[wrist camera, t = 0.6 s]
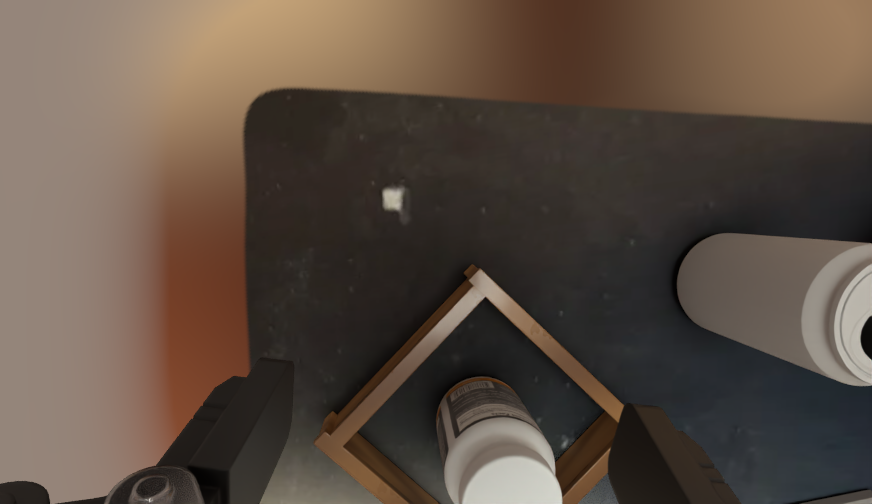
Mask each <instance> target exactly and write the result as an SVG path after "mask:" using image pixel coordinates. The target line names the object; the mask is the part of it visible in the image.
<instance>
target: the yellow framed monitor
mask: <svg viewBox="0 0 872 504" xmlns="http://www.w3.org/2000/svg"><path fill="white" fill-rule="evenodd" d="M801 504H872V491H871V490H865V491H860V492H855V493H850V494H845V495H840V496H835V497H830V498H825V499H820V500H815V501H810V502H806V503H801Z"/></svg>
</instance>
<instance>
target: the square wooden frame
mask: <svg viewBox="0 0 872 504" xmlns="http://www.w3.org/2000/svg"><path fill="white" fill-rule="evenodd" d="M464 274H465V275H466V276H467V277H468V278H467V279H466V280H465V281H464V282H463V283H462V284H461V285H460V286H459V287H458V288H457V290H456V291H455V292H454V293H453V294H452V295H451V296H450V297H449V298H448V299H447V300H446V301H445V302H444V303H443V304H442V305H441V306H440V307H439V308H438V309H437V311H436V312H435V313H434V314H433V315H432V316H431V317H430V318H429V319H428V320H427V321H426V322H425V323H424V324H423V325H422V326H421V327H420V328H419V329H418V330H417V331H416V333H415V334H414V335H413V336H412V337H411V338H410V339H409V340H408V341H407V342H406V343H405V344H404V345H403V346H402V347H401V348H400V349H399V350H398V351H397V352H396V354H395V355H394V356H393V357H392V358H391V359H390V360H389V361H388V362H387V363H386V364H385V365H384V366H383V367H382V368H381V369H380V370H379V371H378V372H377V373H376V375H375V376H374V377H373V378H372V379H371V380H370V381H369V382H368V383H367V384H366V385H365V386H364V387H363V388H362V389H361V390H360V391H359V392H358V393H357V394H356V395H355V397H354V398H353V399H352V400H351V401H350V402H349V403H348V404H347V405H346V406H345V407H344V408H343V409H342V410H341V411H340V412H339V413H338V415H337V414H336V413H334V412H333V411H332V412H331V413H330V414H329V415H328V416H327V417H326V418H325V420H324V422H323V425H322V428H321V431H320V434H319V435H318V436H317V437H316V439H315V440H314V445H316V446H317V447H318V448H319V449H320V450H321V451H323V452H324V453H325V454H326V455H327V456H329V457H330V458H331V459H332V460H333V461H334V462H336V463H337V464H338V465H339V466H340V467H341V468H343V469H344V470H345V471H346V472H347V473H348V474H350V475H351V476H352V477H353V478H354V479H355V480H357V481H358V482H359V483H360V484H361V485H363V486H364V487H365V488H366V489H367V490H368V491H370V492H371V493H372V494H373V495H374V496H375V497H377V498H378V499H379V500H380V501H381V502H382V503H384V504H439V503H438V502H437V501H436V500H435V499H434V498H432V497H431V496H430V495H429V494H428V493H427V492H426V491H424V490H423V489H422V488H421V487H420V486H419V485H417V484H416V483H415V482H414V481H413V480H412V479H411V478H409V477H408V476H407V475H406V474H405V473H404V472H402V471H401V470H400V469H399V468H398V467H397V466H396V465H394V464H393V463H392V462H391V461H390V460H389V459H387V458H386V457H385V456H384V455H383V454H382V453H381V452H379V451H378V450H377V449H376V448H375V447H374V446H372V445H371V444H370V443H369V442H368V441H367V440H366V439H364V438H363V437H362V436H361V435H360V434H359V433H358V432H357V431H358V430H359V429H360V428H361V427H362V426H363V425H364V424H365V423H366V422H367V421H368V420H369V419H370V418H371V417H372V415H373V414H374V413H375V412H376V411H377V410H378V409H379V408H380V407H381V406H382V405H383V404H384V403H385V402H386V401H387V400H388V399H389V398H390V397H391V396H392V395H393V393H394V392H395V391H396V390H397V389H398V388H399V387H400V386H401V385H402V384H403V383H404V382H405V381H406V380H407V379H408V378H409V377H410V376H411V375H412V374H413V373H414V372H415V370H416V369H417V368H418V367H419V366H420V365H421V364H422V363H423V362H424V361H425V360H426V359H427V358H428V357H429V356H430V355H431V354H432V353H433V352H434V351H435V350H436V348H437V347H438V346H439V345H440V344H441V343H442V342H443V341H444V340H445V339H446V338H447V337H448V336H449V335H450V334H451V333H452V332H453V331H454V330H455V329H456V328H457V326H458V325H459V324H460V323H461V322H462V321H463V320H464V319H465V318H466V317H467V316H468V315H469V314H470V313H471V312H472V311H473V310H474V309H475V308H476V307H477V306H478V305H479V303H480V302H481V301H482V300H483V299H484V298H485V297H486V298H487V299H488V300H489V301H490V302H491V303H492V304H493V305H494V306H495V307H496V308H497V309H498V310H499V311H500V312H501V313H503V314H504V315H505V316H506V317H507V318H508V319H509V320H510V321H511V322H512V323H513V324H514V325H515V326H516V327H517V328H518V329H519V330H520V331H522V332H523V333H524V334H525V335H526V336H527V337H528V338H529V339H530V340H531V341H532V342H533V343H534V344H535V345H536V346H537V347H538V348H539V349H541V350H542V351H543V352H544V353H545V354H546V355H547V356H548V357H549V358H550V359H551V360H552V361H553V362H554V363H555V364H556V365H557V366H558V367H560V368H561V369H562V370H563V371H564V372H565V373H566V374H567V375H568V376H569V377H570V378H571V379H572V380H573V381H574V382H575V383H576V384H578V385H579V386H580V387H581V388H582V389H583V390H584V391H585V392H586V393H587V394H588V395H589V396H590V397H591V398H592V399H593V400H594V401H595V402H597V403H598V404H599V405H600V406H601V407H602V408H603V409H604V410H605V412H604V413H603V414H602V415H601V416H600V417H599V418H598V419H597V420H596V421H595V422H594V423H593V424H592V425H591V426H590V427H589V428H588V429H587V430H586V431H585V432H584V433H583V434H582V435H581V436H580V437H579V438H578V439H577V440H576V442H575V443H574V444H573V445H572V446H571V447H570V448H569V449H568V450H567V451H566V452H565V453H564V454H563V455H562V456H561V457H560V458H559V459H558V460H557V461H556V462H555V476H556V478H557V480H558V482H559V485H560V488H561V493H562V504H577V503H578V502H579V501H580V500H581V499H582V498H583V497H584V496H585V495H586V494H587V493H588V492H589V491H590V490H591V489H592V488H593V487H594V486H595V485H596V484H597V483H598V482H599V481H600V480H601V479H602V478H603V477H604V476H605V475H606V474H607V473H608V457H609V453H610V449H611V446H612V442H613V439H614V436H615V432H616V429H617V426H618V422H619V419H620V415H621V412H622V409H623V407H624V405H623V404H622V403H621V402H620V401H619V400H618V399H617V398H616V397H615V396H614V395H613V394H612V393H611V392H610V391H609V390H607V389H606V388H605V387H604V386H603V385H602V384H601V383H600V382H599V381H598V380H597V379H596V378H595V377H594V376H593V375H592V374H591V373H590V372H589V371H588V370H587V369H585V368H584V367H583V366H582V365H581V364H580V363H579V362H578V361H577V360H576V359H575V358H574V357H573V356H572V355H571V354H570V353H569V352H568V351H567V350H566V349H565V348H563V347H562V346H561V345H560V344H559V343H558V342H557V341H556V340H555V339H554V338H553V337H552V336H551V335H550V334H549V333H548V332H547V331H546V330H545V329H544V328H543V327H541V326H540V325H539V324H538V323H537V322H536V321H535V320H534V319H533V318H532V317H531V316H530V315H529V314H528V313H527V312H526V311H525V310H524V309H523V308H522V307H521V306H519V305H518V304H517V303H516V302H515V301H514V300H513V299H512V298H511V297H510V296H509V295H508V294H507V293H506V292H505V291H504V290H503V289H502V288H501V287H500V286H499V285H497V284H496V283H495V282H494V281H493V280H492V279H491V278H490V277H489V276H488V275H487V274H486V273H485V272H484V271H483V270H482V269H481V268H476V267H475V266H474V265H473V264H472V265H471V266H470V267H469V268H468V269H467V270H466V271H465V272H464Z"/></svg>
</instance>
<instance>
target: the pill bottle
mask: <svg viewBox="0 0 872 504" xmlns="http://www.w3.org/2000/svg"><path fill="white" fill-rule="evenodd" d="M436 427H437V436H438V441H439V448H440V455H441V461H442V467H443V474H444V479H445V485H446V489H447V492H448V494H449V496H450V498H451V499H452V501H453V503H454V504H562V493H561V488H560V485H559V482H558V480H557V478H556V476H555V461H554V455H553V452H552V449H551V447H550V444H549V443H548V441H547V439H546V438H545V436H544V435H543V433H542V432H541V430H540V429H539V427H538V426H537V424H536V423H535V421H534V420H533V418H532V416H531V415H530V413H529V411H528V410H527V408H526V407H525V405H524V404H523V402H522V401H521V399H520V398H519V397H518V395H517V394H516V393H515V392H514V390H513V389H512V388H511V387H509V386H508V385H507V384H505V383H504V382H502V381H500V380H497V379H495V378H491V377H482V376H480V377H473V378H469V379H466V380H463V381H461V382H459V383H457V384H456V385H455V386H453V387H452V388H451V389H450V390H449V391H448V392H447V393H446V394H445V396H444V397H443V399H442V400H441V402H440V405H439V408H438V411H437V418H436Z"/></svg>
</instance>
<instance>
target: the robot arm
mask: <svg viewBox="0 0 872 504" xmlns="http://www.w3.org/2000/svg"><path fill="white" fill-rule="evenodd" d="M293 383H294V364H293V362H292V361H286V360H278V359H269V358H260V359H259V360H258V361H257V363H256V364H255V366H254V367H253V369H252V370H251V372H250V373H249V375H248V376H247V378H246V377H238V376H233V377H231V378H230V379H228V380H227V381H225V382H223V383H222V384H220V385H219V386H217V387H215V388H214V390H213V391H212V393H211V394H210V395H209V396H208V398H207V399H206V400H205V402H204V403H203V406H201V407H200V408H199V410H198V411H197V412H196V413H195V415H194V418H193V419H191V420H190V421H189V423H188V424H187V425H186V427H185V428H184V429H183V430H182V432H181V433H180V435H179V436H178V437H177V438H176V440H175V441H174V442H173V444H172V445H171V446H170V448H169V449H168V450H167V452H166V453H165V454H164V456H163V457H162V458H161V459H160V461H159V462H158V464H157V465H156V466H152V467H148V468H145V469H142V470H139V471H137V472H135V473H133V474H131V475H129V476H127V477H126V478H124V479H123V480H122V481H120V482H119V483H118V484H117V485H116V486H115V487H114V488H113V489H112V490H111V491H110V493H109V494H108V496H104V497H99V498H94V499H87V500H79V501H72V502H65V503H58V504H259V503H260V501H261V498H262V496H263V494H264V492H265V489H266V487H267V485H268V483H269V480H270V478H271V476H272V474H273V471H274V469H275V467H276V465H277V462H278V460H279V458H280V456H281V453H282V451H283V449H284V447H285V444H286V442H287V439H288V436H289V432H290V427H291V421H292V406H293ZM608 475H609V480H610V483H611V486H612V488H613V491H614V493H615V495H616V498H617V500H618V503H619V504H741V503H740V501H739V500H738V498H737V497H736V495H735V494H734V493H733V491H732V490H731V488H730V487H729V486H728V484H726V483H724V478H723V477H722V476H721V474H720V473H719V471H718V470H717V469H715V468H714V464H713V463H712V461H711V460H710V459H709V457H708V456H707V454H706V453H705V451H704V450H703V449H702V447H701V446H699V445H698V444H697V443H696V442H695V441H693V440H692V439H691V438H690V437H689V436H687V435H686V434H685V433H684V432H683V431H677V430H676V429H675V427H674V426H673V424H672V423H671V421H670V420H669V418H668V417H667V415H666V414H665V412H664V411H663V410H662V409H661V408H660V407H656V406H648V405H639V404H631V403H627V404H626V405H625V406H624V407H623V409H622V412H621V415H620V419H619V422H618V426H617V429H616V432H615V436H614V439H613V442H612V446H611V449H610V453H609V457H608ZM0 504H50V500H49V494H48V492H47V490H46V489H45V488H44V487H43V486H41V485H39V484H37V483H34V482H27V481H15V482H7V483H3V484H0Z"/></svg>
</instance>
